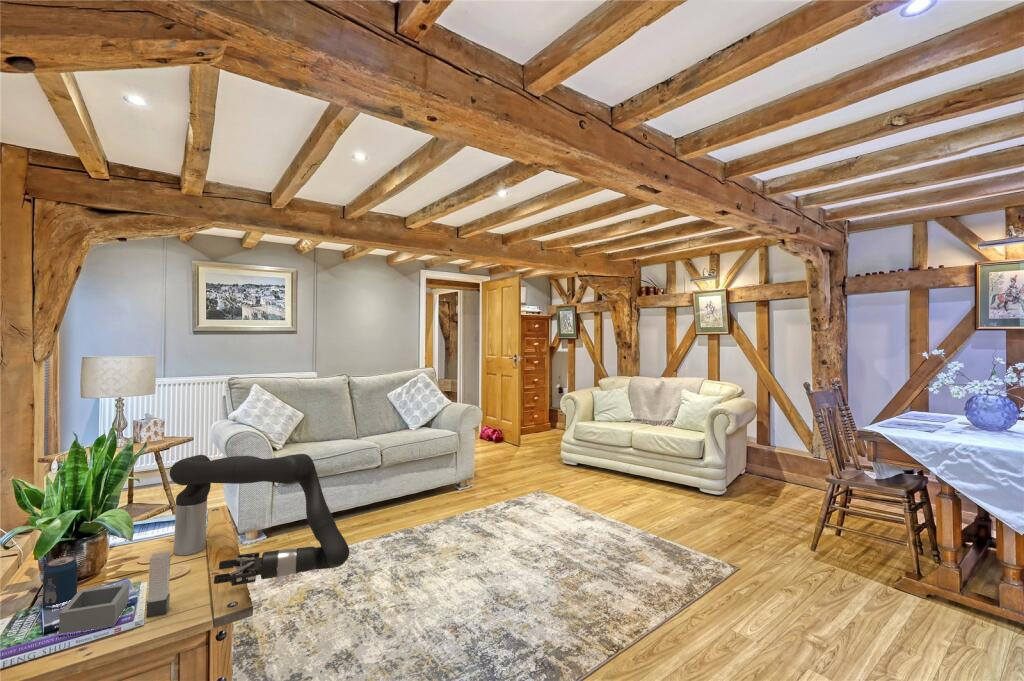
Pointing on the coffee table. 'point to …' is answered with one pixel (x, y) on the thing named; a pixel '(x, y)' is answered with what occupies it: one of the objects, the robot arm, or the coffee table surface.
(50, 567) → the soda can
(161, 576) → the two-tone gray pillar
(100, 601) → the gray open tray
